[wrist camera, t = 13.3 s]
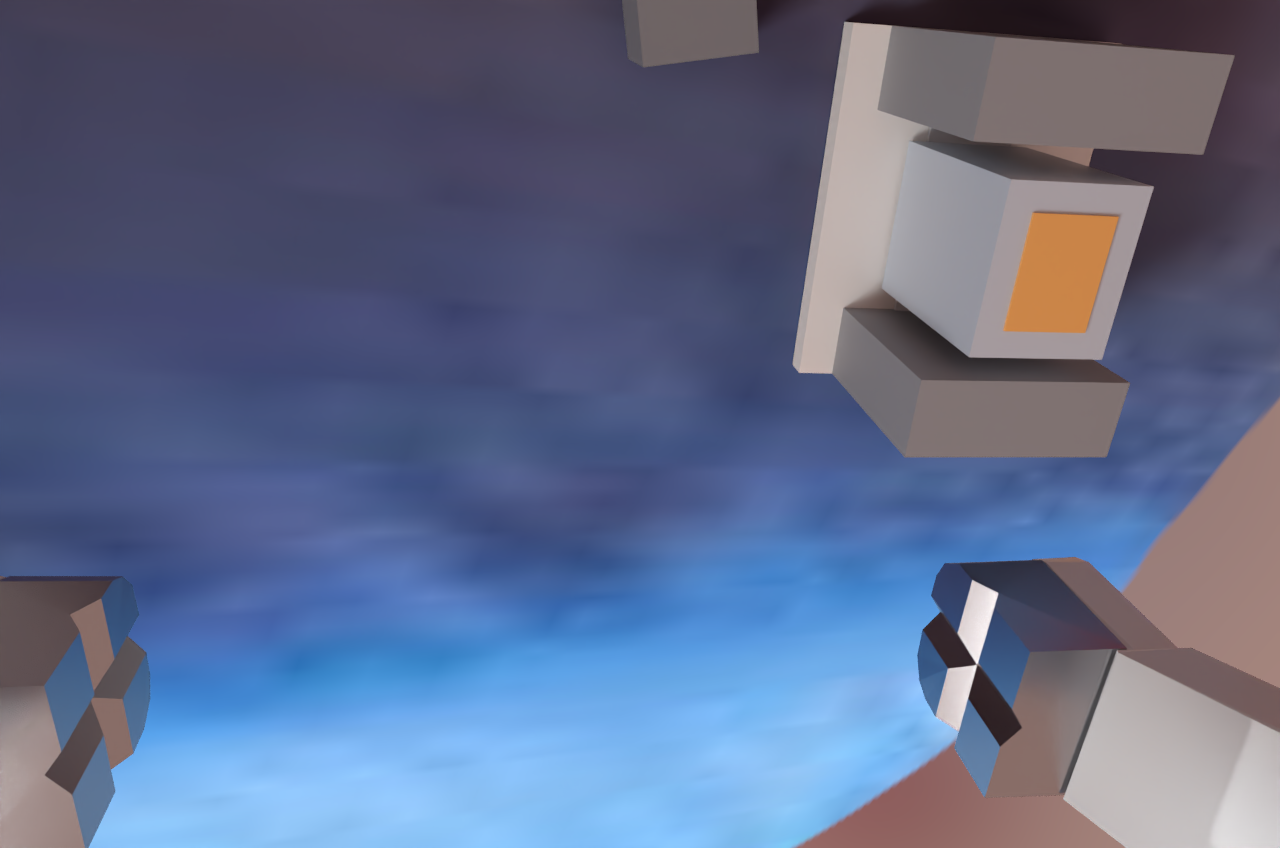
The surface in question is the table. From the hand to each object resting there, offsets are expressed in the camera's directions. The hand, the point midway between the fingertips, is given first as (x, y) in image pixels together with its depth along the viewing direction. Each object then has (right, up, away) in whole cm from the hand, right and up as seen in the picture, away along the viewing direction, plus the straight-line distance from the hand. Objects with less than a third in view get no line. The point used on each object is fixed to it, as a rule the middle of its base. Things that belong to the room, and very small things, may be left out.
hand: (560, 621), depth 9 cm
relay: (+2, +17, +25) cm, 30 cm away
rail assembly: (+14, +11, +29) cm, 34 cm away
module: (+14, +10, +28) cm, 33 cm away
